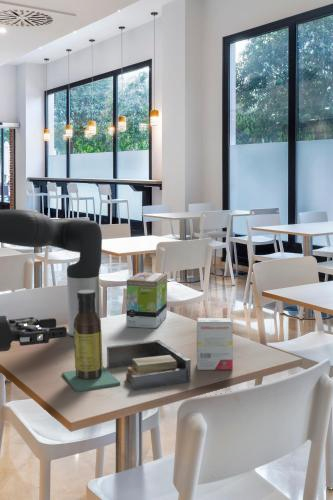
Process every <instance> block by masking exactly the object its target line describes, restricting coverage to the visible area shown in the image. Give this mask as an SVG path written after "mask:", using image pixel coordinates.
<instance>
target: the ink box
mask: <svg viewBox="0 0 333 500" xmlns="http://www.w3.org/2000/svg"><path fill="white" fill-rule="evenodd" d="M233 323H234V322H233V320H232V318H231V317H219V318H218V317H197V318H196V369H197V370H198V371H206V370H207V371H208V370H209V371H210V370H212V371H213V370H214V371H218V370H219V371H221V370H223V371H224V370H228V371H229V370H230V371H231V370H233V369H234V367H233V363H234V362H233V359H234V358H233V357H234V356H233V353H234V352H233V350H234V348H233V346H234V345H233V344H234V343H233V339H234V337H233V335H234V333H233V331H234V330H233V328H234V325H233Z"/></svg>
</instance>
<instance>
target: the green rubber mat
mask: <svg viewBox="0 0 333 500" xmlns="http://www.w3.org/2000/svg"><path fill="white" fill-rule="evenodd" d="M61 375H62V376H63V378H65V380H66V381H67V382H68V383H69V385H71V387H72V389H74V390H75V391H76V393H77V392H83V391H85V392H86V391H89V390H90V391H91V390H96V389H97V390H98V389H104V388H109V387H115V386H121V381H120V380H118V379H117V377H116V376H114V375H113V374H112V373H111V372H110V371H109V370H107V368H105V367H104V366H103V367H102V375H101V376H100V377H98V378H95V379H81V378H79V377H78V376H76V369H74V370H69V371H62V374H61Z"/></svg>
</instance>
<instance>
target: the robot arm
mask: <svg viewBox="0 0 333 500" xmlns="http://www.w3.org/2000/svg"><path fill="white" fill-rule="evenodd" d="M102 234H103V233H102V228H101V226H100V224H99V223H98V222H96V221H94V220H85V219H83V220H82V219H68V220H67V219H65V220H61V219H59V220H58V219H52V218H51V217H49V216H47V215H46V214H44V213H41V212H37V211H33V210H27V209H8V208H7V209H0V243H1V244H8V245H13V246H18V247H24V248H25V247H26V248H42V247H48V246H50V247H54V248H59V249H62V250H64V251H68V252H72V253H73V252H75V253H79V260H78V261H77V262H75V263H73V264H69V265H68V266H67V268H66V281H67V282H66V285H67V318H68V319H67V324H68V325H67V326H68V330H67V327H66V326H57V319H56V318H54V317H51V318H49V317H48V318H41V319H39V318H37V317H36V318H35V317H34V316H33V317H32V316H30V317H22V318H21V317H20V318H12V319H9V317H8V316H7V315H0V353H1V352H9V350H10V349H11V347H12V343H13V342H18V343H19V346H21V347H24V346H32V345H41V344H48V343H50V340H51V339H61V338H66V337H67V336H68V335H69V336H71V337H73V338H74V320H75V317H76V316H77V314H78V313H79V310H78V308H79V304H78V298H77V292H78V291H80V290H94V291H95V311H96V313H97V314H98V316H99V318H100V319H101V299H100V298H101V296H100V294H101V293H100V268H101V265H102V247H103V246H102V245H103V236H102ZM41 335H42V336H41Z"/></svg>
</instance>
